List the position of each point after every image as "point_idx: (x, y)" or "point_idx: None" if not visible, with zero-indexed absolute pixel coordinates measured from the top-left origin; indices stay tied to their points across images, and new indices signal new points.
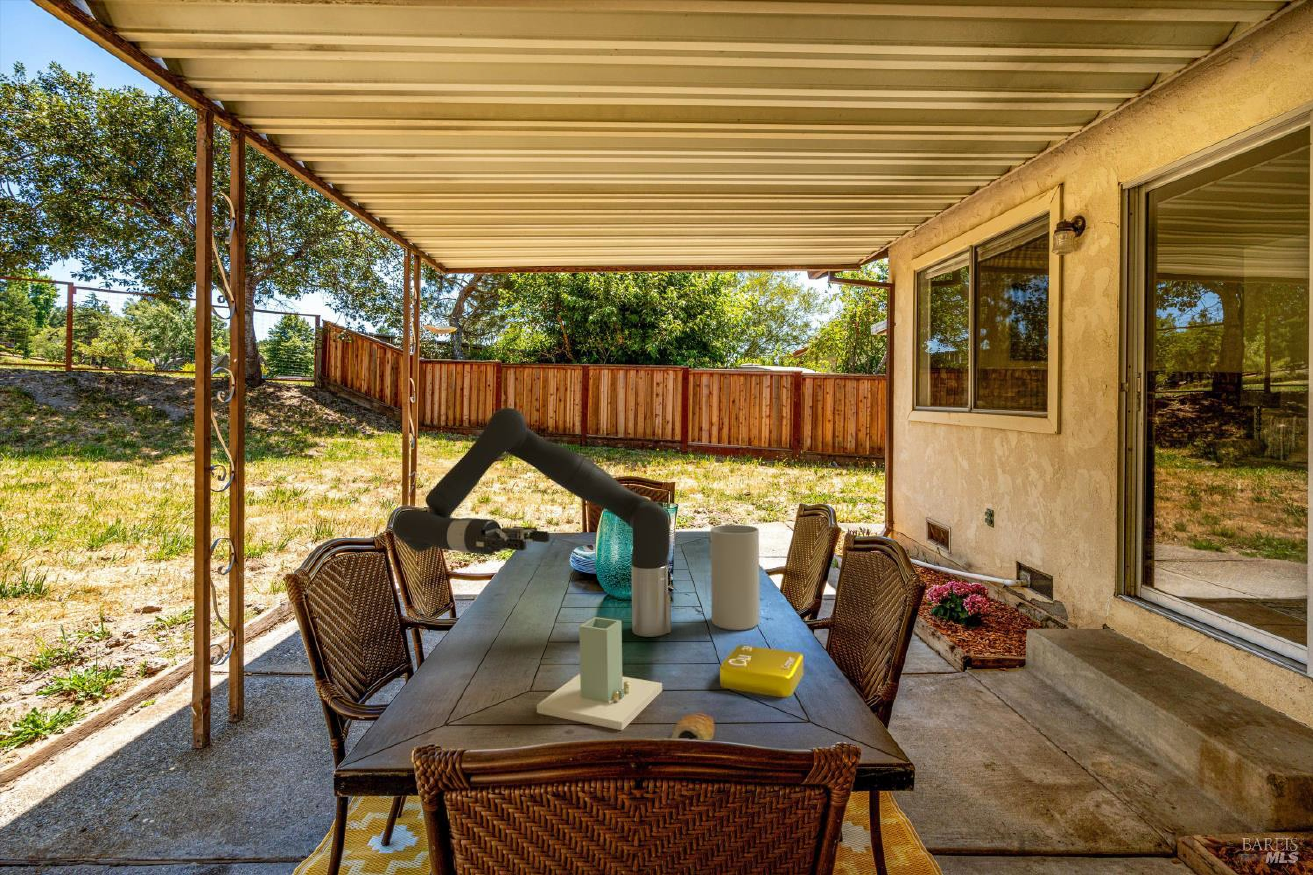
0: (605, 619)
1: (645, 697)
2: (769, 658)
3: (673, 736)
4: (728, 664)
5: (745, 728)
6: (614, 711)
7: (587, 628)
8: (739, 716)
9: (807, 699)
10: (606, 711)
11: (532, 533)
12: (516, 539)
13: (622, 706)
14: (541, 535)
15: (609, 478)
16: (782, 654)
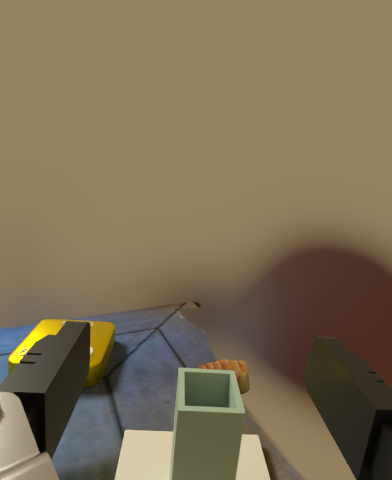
0: (183, 389)
1: None
2: None
3: (248, 385)
4: None
5: (188, 355)
6: (239, 454)
7: (241, 400)
8: (167, 361)
9: (115, 330)
10: (245, 465)
11: (32, 421)
12: (358, 364)
13: None
14: (75, 365)
15: None
16: (49, 328)
